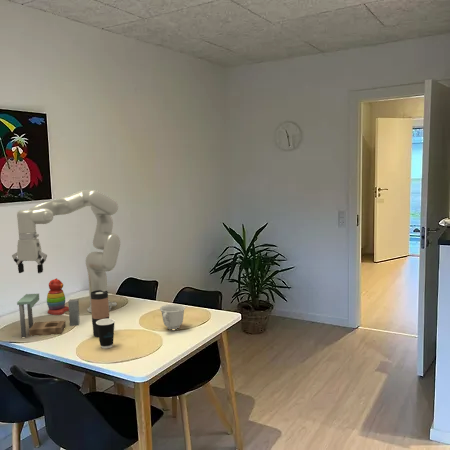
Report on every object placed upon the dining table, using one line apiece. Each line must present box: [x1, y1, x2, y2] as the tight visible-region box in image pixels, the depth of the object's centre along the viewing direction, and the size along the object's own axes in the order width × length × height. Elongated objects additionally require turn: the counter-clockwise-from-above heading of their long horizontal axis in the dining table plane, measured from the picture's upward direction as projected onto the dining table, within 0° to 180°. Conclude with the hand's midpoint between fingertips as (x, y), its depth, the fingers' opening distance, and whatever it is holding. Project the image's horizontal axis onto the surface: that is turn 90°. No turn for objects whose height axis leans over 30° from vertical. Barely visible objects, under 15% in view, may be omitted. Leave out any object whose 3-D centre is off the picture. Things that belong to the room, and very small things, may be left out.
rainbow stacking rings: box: [46, 278, 69, 316], centre depth 249 cm, size 11×10×18 cm
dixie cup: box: [96, 318, 116, 349], centre depth 199 cm, size 8×8×11 cm
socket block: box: [28, 320, 67, 337], centre depth 220 cm, size 14×10×3 cm
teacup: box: [159, 303, 186, 330], centre depth 218 cm, size 12×15×10 cm
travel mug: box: [91, 290, 110, 338], centre depth 212 cm, size 8×8×20 cm
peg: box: [68, 298, 81, 327], centre depth 229 cm, size 4×4×12 cm
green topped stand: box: [16, 293, 40, 338], centre depth 218 cm, size 6×14×17 cm, turn 8°
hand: (30, 272), depth 219 cm, fingers open, 9 cm apart
